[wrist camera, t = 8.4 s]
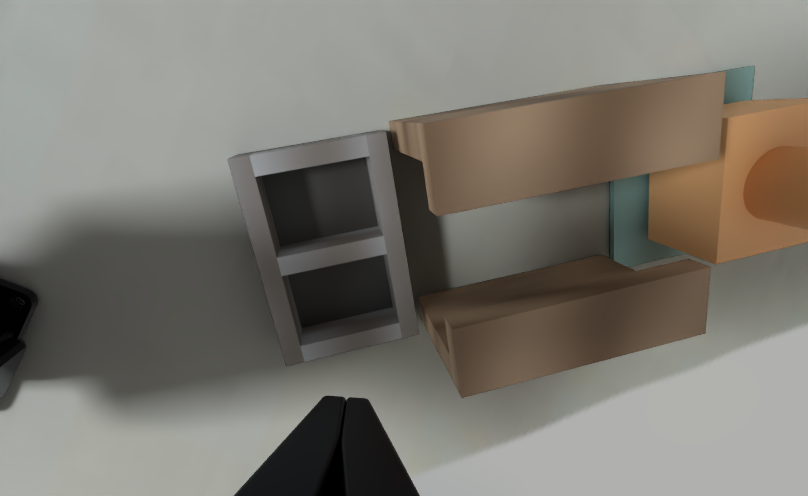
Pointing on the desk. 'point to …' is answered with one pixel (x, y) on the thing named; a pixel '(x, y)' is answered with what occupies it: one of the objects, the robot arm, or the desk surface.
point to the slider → (739, 187)
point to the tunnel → (479, 187)
